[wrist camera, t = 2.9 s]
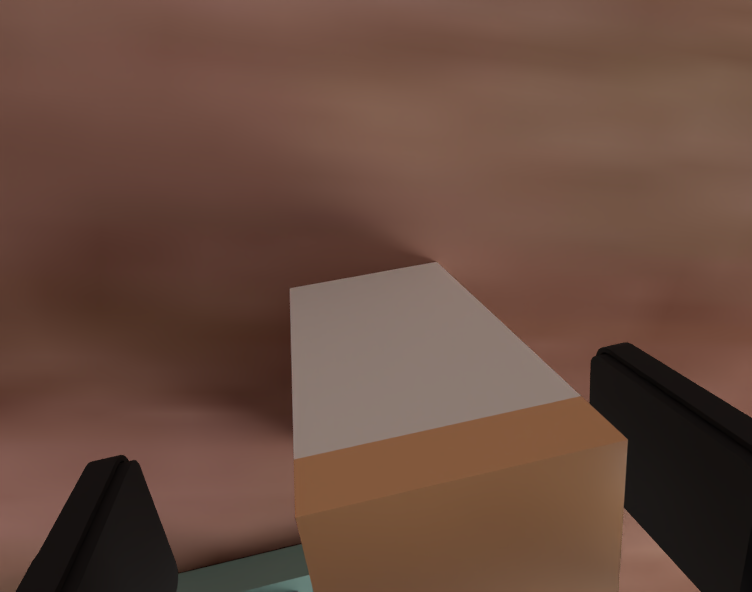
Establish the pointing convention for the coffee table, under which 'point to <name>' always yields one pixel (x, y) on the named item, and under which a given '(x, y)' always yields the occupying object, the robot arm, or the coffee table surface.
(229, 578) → the board
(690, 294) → the coffee table surface
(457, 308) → the plug
